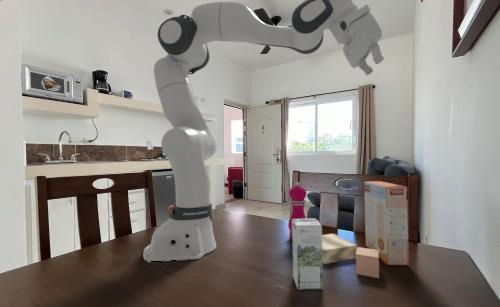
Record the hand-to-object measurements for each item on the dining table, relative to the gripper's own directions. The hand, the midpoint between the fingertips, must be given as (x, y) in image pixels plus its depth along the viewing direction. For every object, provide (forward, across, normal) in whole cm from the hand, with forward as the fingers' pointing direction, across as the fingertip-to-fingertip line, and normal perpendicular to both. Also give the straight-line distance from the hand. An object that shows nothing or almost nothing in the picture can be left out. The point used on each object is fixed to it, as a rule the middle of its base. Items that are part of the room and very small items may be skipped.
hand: (374, 68), depth 69 cm
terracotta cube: (+45, +9, -30) cm, 55 cm away
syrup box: (+38, +17, -44) cm, 60 cm away
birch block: (+41, -2, -38) cm, 56 cm away
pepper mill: (+37, -14, -45) cm, 60 cm away
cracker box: (+49, -2, -24) cm, 54 cm away
